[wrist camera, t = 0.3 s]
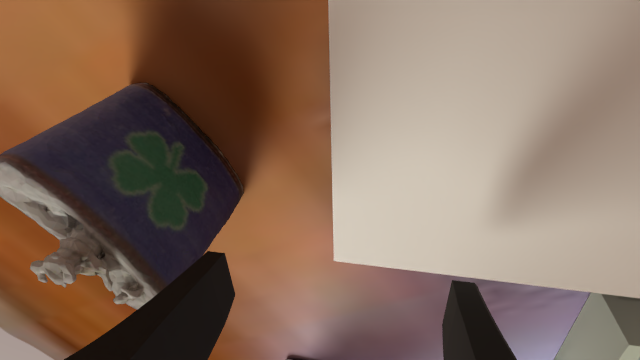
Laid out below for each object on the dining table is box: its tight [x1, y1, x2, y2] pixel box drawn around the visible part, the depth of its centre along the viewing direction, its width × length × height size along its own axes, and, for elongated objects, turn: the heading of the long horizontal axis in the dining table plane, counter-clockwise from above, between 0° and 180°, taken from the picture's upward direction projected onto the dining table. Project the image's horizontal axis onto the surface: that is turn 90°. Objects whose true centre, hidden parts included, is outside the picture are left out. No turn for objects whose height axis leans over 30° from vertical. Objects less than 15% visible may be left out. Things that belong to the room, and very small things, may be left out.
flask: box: [0, 83, 244, 310], centre depth 18 cm, size 9×3×11 cm, turn 35°
